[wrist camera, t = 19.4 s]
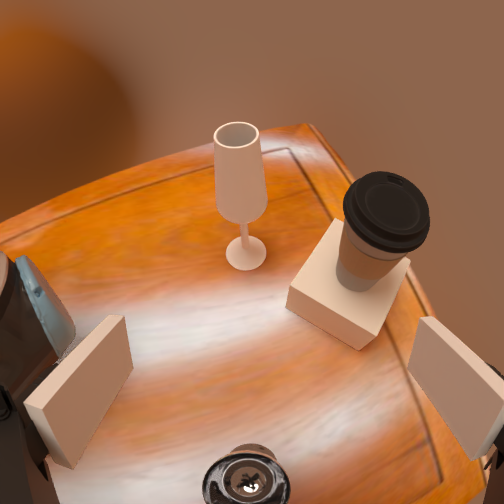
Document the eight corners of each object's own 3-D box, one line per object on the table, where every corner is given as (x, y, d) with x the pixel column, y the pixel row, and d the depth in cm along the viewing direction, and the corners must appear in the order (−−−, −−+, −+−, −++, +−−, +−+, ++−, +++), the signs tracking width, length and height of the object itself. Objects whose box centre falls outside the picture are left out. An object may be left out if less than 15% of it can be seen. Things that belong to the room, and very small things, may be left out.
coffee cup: (376, 240, 42) (413, 165, 29) (396, 299, 37) (450, 236, 25) (315, 246, 42) (335, 167, 29) (330, 310, 37) (364, 247, 24)
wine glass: (222, 439, 36) (202, 449, 23) (281, 440, 36) (291, 452, 23) (221, 490, 32) (201, 522, 19) (280, 492, 32) (289, 526, 19)
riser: (358, 351, 42) (376, 336, 35) (285, 307, 46) (289, 285, 39) (391, 284, 47) (410, 260, 40) (326, 246, 51) (335, 217, 45)
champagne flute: (270, 239, 52) (274, 120, 32) (261, 274, 49) (260, 159, 28) (232, 232, 53) (216, 114, 33) (220, 265, 50) (194, 150, 30)
